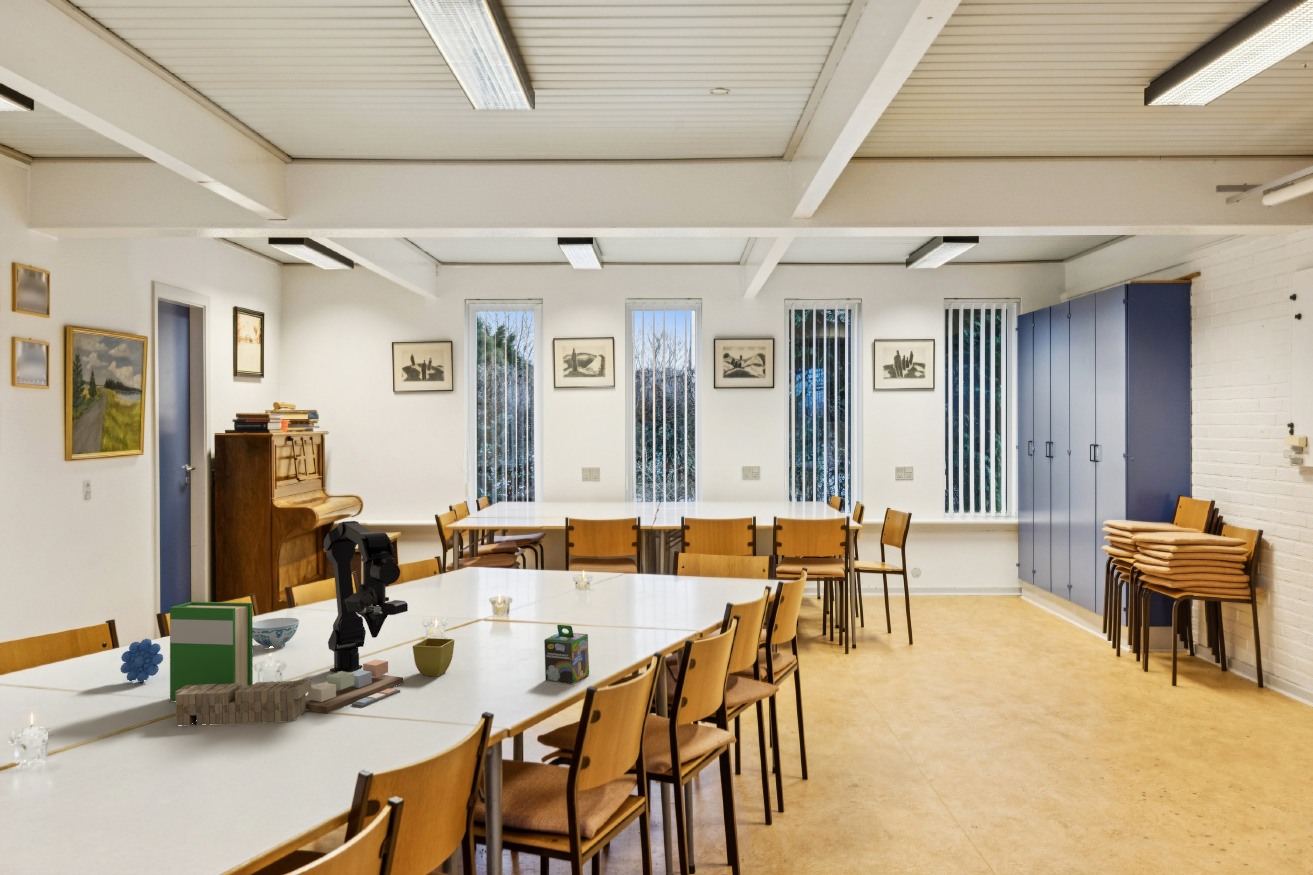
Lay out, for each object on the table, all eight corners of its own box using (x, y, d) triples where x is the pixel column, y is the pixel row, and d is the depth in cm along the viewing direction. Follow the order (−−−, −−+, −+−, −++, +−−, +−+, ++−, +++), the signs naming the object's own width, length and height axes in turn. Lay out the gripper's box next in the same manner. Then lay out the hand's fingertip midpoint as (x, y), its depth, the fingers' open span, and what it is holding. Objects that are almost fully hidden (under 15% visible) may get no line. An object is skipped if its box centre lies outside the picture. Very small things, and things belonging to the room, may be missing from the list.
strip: (351, 705, 191) (351, 702, 191) (389, 690, 203) (389, 687, 203) (362, 707, 189) (362, 703, 189) (400, 692, 201) (400, 688, 201)
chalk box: (589, 675, 215) (589, 622, 215) (572, 684, 206) (572, 629, 207) (561, 671, 218) (561, 619, 219) (543, 680, 210) (543, 626, 210)
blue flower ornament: (172, 677, 217) (172, 634, 217) (156, 684, 210) (156, 640, 210) (131, 677, 217) (132, 635, 217) (114, 684, 210) (114, 640, 211)
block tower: (170, 731, 178) (300, 722, 180) (168, 694, 178) (298, 686, 180) (188, 719, 186) (312, 710, 188) (186, 684, 186) (311, 676, 188)
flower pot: (440, 679, 212) (440, 646, 212) (411, 677, 214) (411, 645, 214) (455, 670, 221) (455, 638, 221) (427, 668, 223) (427, 637, 223)
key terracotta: (363, 674, 207) (363, 663, 207) (375, 670, 211) (375, 659, 211) (375, 676, 205) (375, 665, 205) (388, 672, 209) (388, 661, 209)
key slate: (345, 685, 201) (345, 674, 201) (358, 681, 206) (358, 669, 206) (358, 687, 200) (358, 676, 200) (371, 682, 204) (371, 671, 204)
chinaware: (308, 644, 253) (308, 620, 253) (264, 654, 240) (264, 629, 240) (282, 638, 261) (282, 615, 261) (238, 648, 248) (238, 624, 248)
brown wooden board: (291, 707, 190) (291, 700, 190) (370, 678, 214) (370, 672, 214) (327, 713, 185) (327, 707, 185) (403, 682, 209) (403, 677, 209)
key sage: (327, 687, 196) (327, 675, 196) (341, 682, 200) (341, 671, 200) (340, 689, 194) (340, 677, 194) (354, 684, 198) (354, 672, 198)
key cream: (308, 699, 190) (308, 687, 190) (322, 694, 195) (322, 682, 195) (321, 701, 189) (321, 689, 189) (336, 696, 193) (335, 684, 193)
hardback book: (252, 695, 200) (252, 602, 201) (232, 704, 193) (232, 608, 193) (191, 692, 203) (191, 601, 203) (170, 701, 195) (169, 607, 196)
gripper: (325, 582, 205) (325, 640, 205) (378, 586, 197) (378, 647, 197) (357, 575, 215) (357, 631, 215) (409, 579, 207) (409, 637, 207)
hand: (374, 637), depth 208 cm, fingers closed
